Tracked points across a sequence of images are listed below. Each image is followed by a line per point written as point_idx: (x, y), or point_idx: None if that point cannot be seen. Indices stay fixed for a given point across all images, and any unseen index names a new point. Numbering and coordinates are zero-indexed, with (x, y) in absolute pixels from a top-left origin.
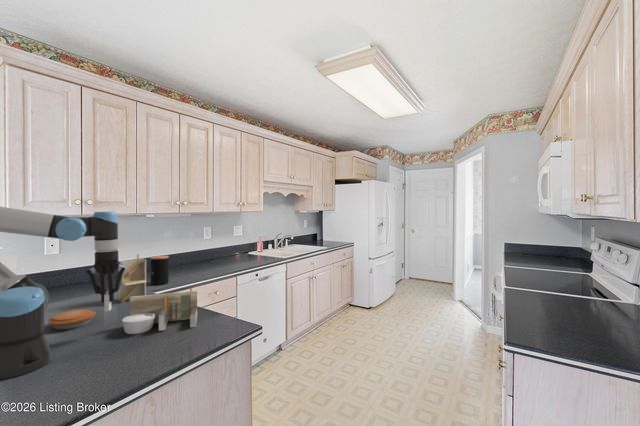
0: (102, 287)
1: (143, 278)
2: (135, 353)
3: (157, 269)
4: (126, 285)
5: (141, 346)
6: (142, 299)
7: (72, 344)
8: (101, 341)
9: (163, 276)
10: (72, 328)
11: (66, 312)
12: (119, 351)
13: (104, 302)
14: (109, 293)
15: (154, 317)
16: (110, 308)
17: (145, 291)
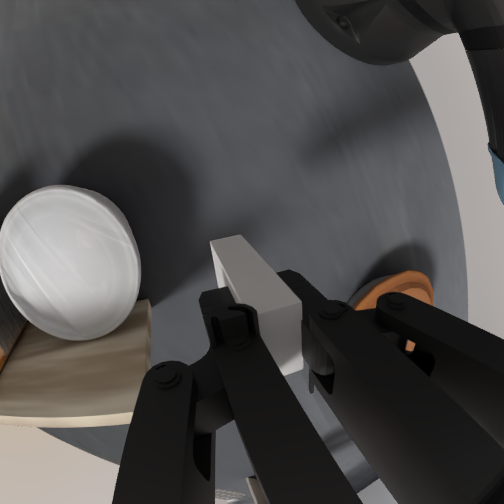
0: (383, 364)
1: None
2: (19, 18)
3: None
4: None
5: (8, 67)
6: (76, 399)
7: (299, 117)
8: (186, 120)
9: None
10: (364, 285)
11: (409, 347)
12: (70, 23)
13: (264, 261)
14: (235, 314)
15: (6, 281)
16: (217, 276)
17: (252, 493)
